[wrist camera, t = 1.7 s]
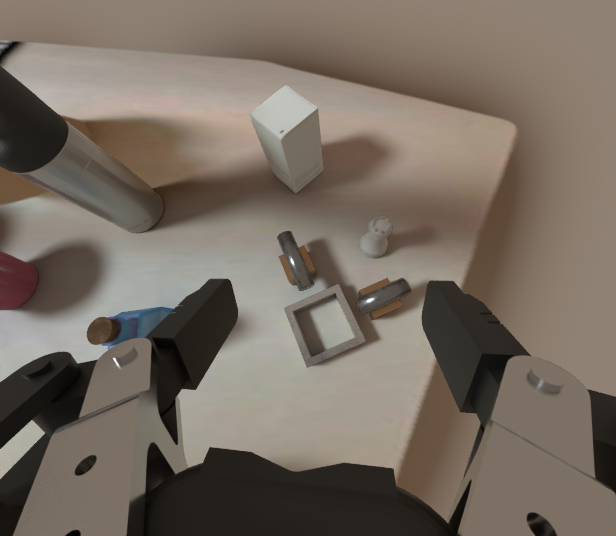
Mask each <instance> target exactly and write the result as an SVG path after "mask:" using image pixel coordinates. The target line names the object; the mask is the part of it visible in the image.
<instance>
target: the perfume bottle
mask: <svg viewBox="0 0 616 536" xmlns="http://www.w3.org/2000/svg"><path fill="white" fill-rule="evenodd" d="M172 310H174V309H171V308H165V307H157V308H150V309H143V310H135V311H128V312H121V313H120V314H118V315H116V316H114V317H108V318H106V317H99V318H97V319H95V320H94V321H93V322H92V323H91V324H90V326H89V327H88V331H87V338H88V341H89V342H90V343H91V344H93V345H98V344H101V345H103V346H108V350H109V349H111V348H112V347H114V346H116V345H117V344H120V343H122V342H124V341H127V340H130V339H134V338H145V337H146V336H147V335H148V334H149V333H150V332H151V331H152V330H153V329H154V328H155V327H156V326H157V325H158V324H159V323H160V322H161V321H162V320H163V319H164V318H165V317H166V316H167V315H168V314H169V313H171V311H172Z"/></svg>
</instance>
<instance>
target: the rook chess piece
mask: <svg viewBox="0 0 616 536" xmlns="http://www.w3.org/2000/svg"><path fill="white" fill-rule="evenodd" d="M392 228H393V226H392V223H391V222H390V219H389V218H385V217H384V216H382V215H381V216H379V217H375V218H373V219H372V220H371V221H370V222H369V224H368V230H369V231H368V232H367V233H365V234H364V235H363V237H362V238H361V240H360V245H359V246H360V250H361V251H362V253H363V254H364V255H366V256H368V257H371V258H377V257H380V256H382V255H383V254H384V253H385V252H386V250H387V247H388V240H387V236H388V235H390V233H391V232H392Z"/></svg>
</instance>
